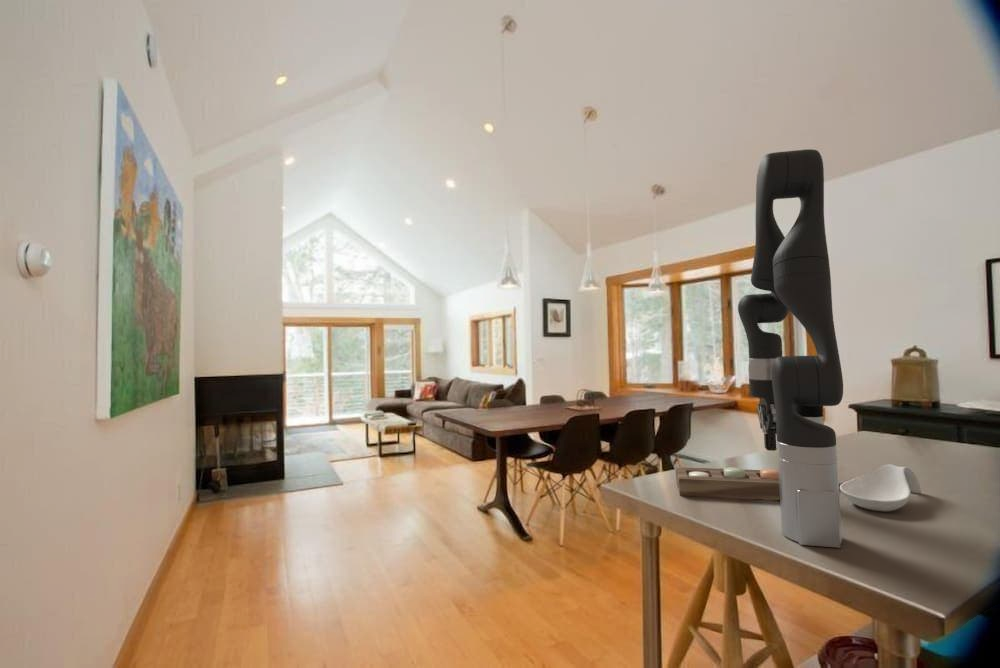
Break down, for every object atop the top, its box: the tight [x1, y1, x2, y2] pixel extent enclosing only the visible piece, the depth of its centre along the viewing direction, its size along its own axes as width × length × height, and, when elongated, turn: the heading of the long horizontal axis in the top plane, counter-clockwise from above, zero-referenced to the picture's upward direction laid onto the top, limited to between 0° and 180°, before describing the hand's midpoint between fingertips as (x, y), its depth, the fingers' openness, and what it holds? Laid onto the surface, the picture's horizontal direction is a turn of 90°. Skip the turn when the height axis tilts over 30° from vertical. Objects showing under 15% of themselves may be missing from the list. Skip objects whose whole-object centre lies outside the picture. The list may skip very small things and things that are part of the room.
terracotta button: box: [759, 468, 779, 480], centre depth 110 cm, size 5×5×3 cm
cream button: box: [689, 472, 709, 477], centre depth 115 cm, size 5×5×3 cm
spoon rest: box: [839, 463, 922, 512], centre depth 103 cm, size 24×12×7 cm, turn 122°
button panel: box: [675, 466, 780, 501], centre depth 113 cm, size 11×26×4 cm, turn 73°
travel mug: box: [794, 405, 825, 425], centre depth 119 cm, size 6×7×20 cm
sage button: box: [723, 466, 746, 478], centre depth 113 cm, size 5×5×3 cm
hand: (770, 449), depth 111 cm, fingers closed
